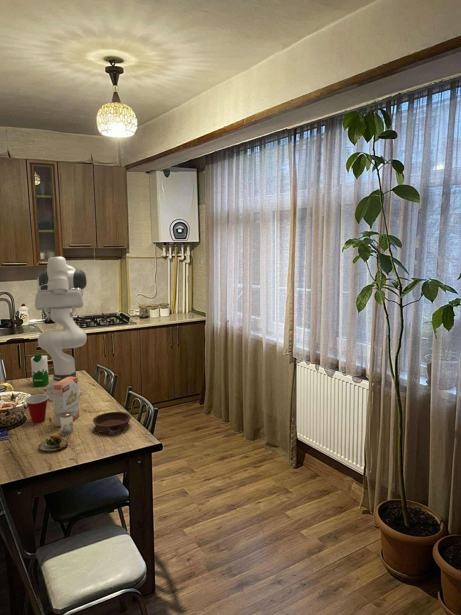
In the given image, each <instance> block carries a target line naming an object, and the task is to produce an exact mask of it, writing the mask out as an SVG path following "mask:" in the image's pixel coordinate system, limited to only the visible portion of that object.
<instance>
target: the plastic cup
mask: <svg viewBox="0 0 461 615" xmlns="http://www.w3.org/2000/svg"><path fill="white" fill-rule="evenodd" d="M48 400H49V399H48V395H46V394H44V393H37V394H32V395H30V396H27V397H26V398H25V399H24V402H25V403H26V405H27V409H28V411H29V415H30V418H31V421H32V423H34V424H38V423H42V422H45V421H46V413H47V406H48V405H47V404H48Z"/></svg>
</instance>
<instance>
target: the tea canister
mask: <svg viewBox="0 0 461 615" xmlns="http://www.w3.org/2000/svg"><path fill="white" fill-rule="evenodd" d="M72 415H73V414H72V412H63V413H60V424H61V427H60V434H61V435H63V436H64V435H65V436H67V435H71V434H73V433H74V421H73V417H72Z"/></svg>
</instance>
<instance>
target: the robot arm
mask: <svg viewBox="0 0 461 615" xmlns="http://www.w3.org/2000/svg"><path fill="white" fill-rule="evenodd" d="M87 278H88V277H87V274H86V272H84V270H82V269H78V268H77V267H74V266H71V265H69V264H67V260H66V258H65V257H63V256H61V255H58V256H50V257H49V258H48V260H47V266H46V269H44V271H42V272H40V273H39V274H38V277H37V280H36V282H37V286H38V287H37V293H36V294H35V301H34V308H35V310H36V311H43V313H44V314H45V315H46V319H48V320H50V319H51V320H52V322H54V323H56V324H58V325H61V326H63V328H62V329H52V330H51V329H49V330H46V331H41V333H39V335H38V338H37V344H38V346H39V348H40V349H42V350H43V351H45V352H46V353H48V355H49V356H50V357H51V360H52V363H53V370H54V372H53V373H52V375H53V376H52V377H53V378H52V380H51V381H50V382H49V383H48V384H47V387H46V390H47V391H45V392H43V394H46V395H48V399H47V400H49V401H52V402H53V389H52V385H53V384H55V383H57V382H59V381H61V380H63V379H64V378H66V377H77V371H76V367H75V366H76V364H75V362H76V361H75V358H74V356H72V355H70V354H69V353H65V352H64V351H63V350H64V349H65V350H66V349H76V348H80V347H83V346H84V345H85V344H86V343H87V339H88V338H87V337H88V336H87V334H86V331H85V330H84V329H83V328H81V327H80V326H78V325H77V324H76V322H75V321H74V314H75V312H76V309H82V308H83V306H84V299H83V296H84V291H83V290H84V289H85V288H86V287H87V283H88V279H87ZM49 310H50V313H48V311H49ZM79 383H80V382H79V381H78V395H79V396H80V394H82V392H83V391H82V390H80V384H79Z"/></svg>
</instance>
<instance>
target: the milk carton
mask: <svg viewBox="0 0 461 615" xmlns="http://www.w3.org/2000/svg"><path fill="white" fill-rule="evenodd" d="M30 365H31V379H32V386H33V388H41V387H42V388H44V387H46V386H48V384H49V383H50V382H49V380H50V379H49V366H48V355H42V353H35V354H34V355H33V356H32V357H31V358H30Z"/></svg>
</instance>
